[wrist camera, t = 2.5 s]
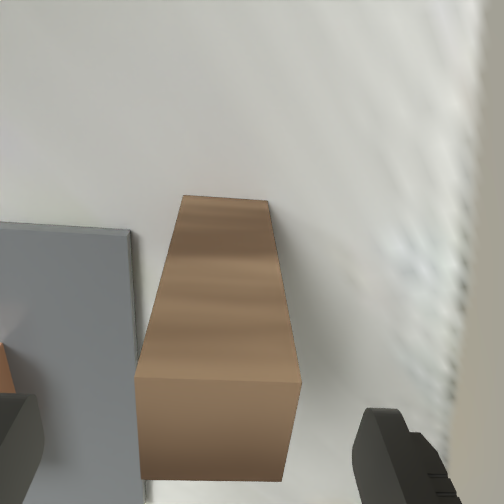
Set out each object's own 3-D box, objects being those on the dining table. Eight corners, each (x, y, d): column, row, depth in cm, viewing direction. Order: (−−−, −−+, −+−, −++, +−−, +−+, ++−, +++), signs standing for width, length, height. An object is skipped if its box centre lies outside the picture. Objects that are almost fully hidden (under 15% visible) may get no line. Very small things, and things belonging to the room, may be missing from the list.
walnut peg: (183, 194, 17) (134, 377, 9) (267, 200, 18) (301, 382, 9) (182, 266, 19) (141, 479, 10) (258, 271, 19) (281, 481, 11)
